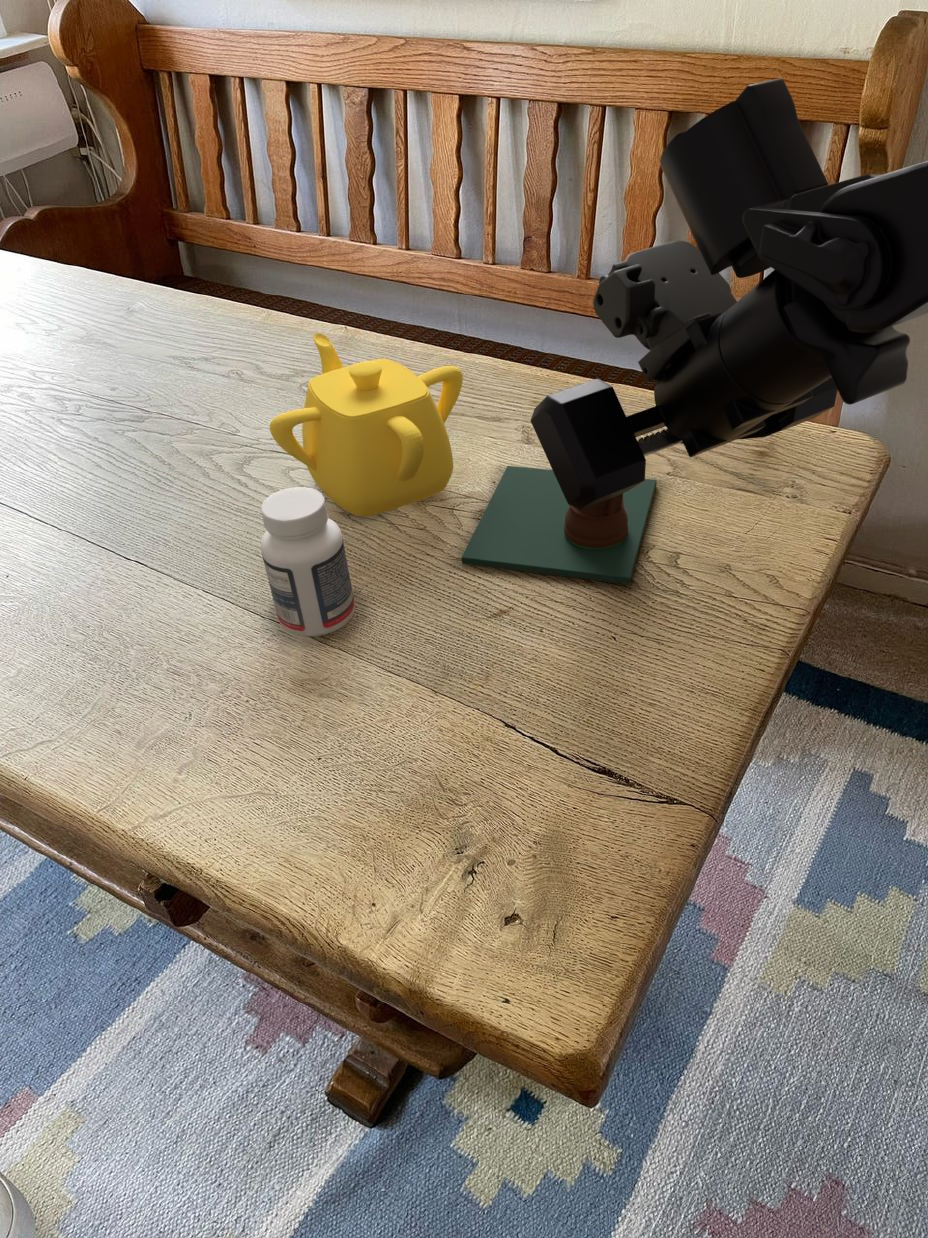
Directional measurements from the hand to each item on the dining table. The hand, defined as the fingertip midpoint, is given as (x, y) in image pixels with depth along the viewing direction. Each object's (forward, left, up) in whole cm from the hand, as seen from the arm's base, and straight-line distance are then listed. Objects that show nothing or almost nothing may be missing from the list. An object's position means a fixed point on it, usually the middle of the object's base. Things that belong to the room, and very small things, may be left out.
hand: (623, 456), depth 63 cm
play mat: (+5, -4, -8) cm, 10 cm away
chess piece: (+2, -2, -8) cm, 8 cm away
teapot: (+21, -7, -8) cm, 23 cm away
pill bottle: (+19, +10, -8) cm, 23 cm away
